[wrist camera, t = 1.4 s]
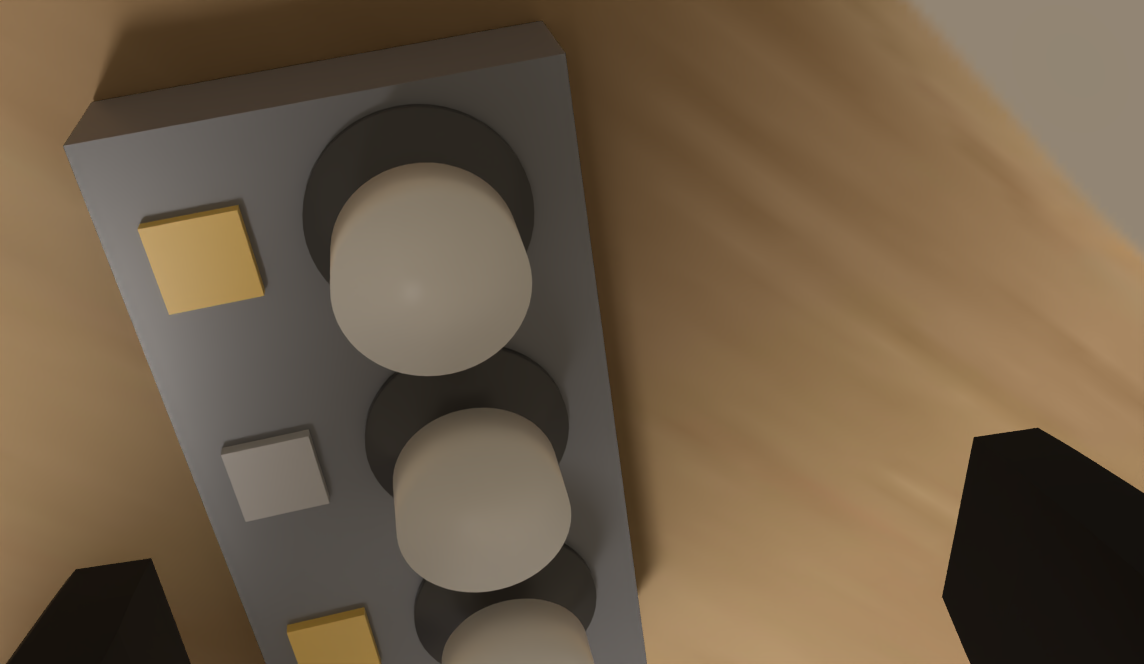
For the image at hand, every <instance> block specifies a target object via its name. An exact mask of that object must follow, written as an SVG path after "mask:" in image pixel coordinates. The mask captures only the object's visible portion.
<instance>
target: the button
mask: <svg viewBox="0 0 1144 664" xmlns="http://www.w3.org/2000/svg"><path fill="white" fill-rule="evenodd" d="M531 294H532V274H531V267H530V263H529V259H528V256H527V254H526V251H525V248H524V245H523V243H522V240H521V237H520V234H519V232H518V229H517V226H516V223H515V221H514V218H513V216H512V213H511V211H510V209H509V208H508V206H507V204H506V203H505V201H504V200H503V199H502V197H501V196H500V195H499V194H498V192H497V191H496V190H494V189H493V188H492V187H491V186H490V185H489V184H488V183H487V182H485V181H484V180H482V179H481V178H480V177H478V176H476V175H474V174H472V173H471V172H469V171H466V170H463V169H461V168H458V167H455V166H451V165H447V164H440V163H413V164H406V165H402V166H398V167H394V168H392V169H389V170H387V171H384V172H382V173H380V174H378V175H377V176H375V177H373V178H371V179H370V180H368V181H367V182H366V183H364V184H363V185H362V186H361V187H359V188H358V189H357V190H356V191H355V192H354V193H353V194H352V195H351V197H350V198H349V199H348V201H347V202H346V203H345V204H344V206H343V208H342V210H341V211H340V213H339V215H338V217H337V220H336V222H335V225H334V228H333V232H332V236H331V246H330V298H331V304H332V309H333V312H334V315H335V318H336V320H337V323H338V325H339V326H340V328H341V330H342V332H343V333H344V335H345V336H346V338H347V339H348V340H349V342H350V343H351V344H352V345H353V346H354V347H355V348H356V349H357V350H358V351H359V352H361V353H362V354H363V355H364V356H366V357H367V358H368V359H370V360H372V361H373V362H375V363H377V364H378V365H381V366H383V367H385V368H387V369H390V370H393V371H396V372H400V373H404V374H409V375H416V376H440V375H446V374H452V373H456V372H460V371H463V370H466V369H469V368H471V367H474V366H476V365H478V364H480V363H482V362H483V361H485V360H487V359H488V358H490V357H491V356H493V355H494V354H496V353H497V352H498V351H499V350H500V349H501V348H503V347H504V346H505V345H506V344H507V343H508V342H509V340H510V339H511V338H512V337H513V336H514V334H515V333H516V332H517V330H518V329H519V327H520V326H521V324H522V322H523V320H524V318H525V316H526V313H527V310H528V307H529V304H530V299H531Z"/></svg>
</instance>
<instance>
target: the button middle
mask: <svg viewBox="0 0 1144 664" xmlns="http://www.w3.org/2000/svg"><path fill="white" fill-rule="evenodd" d="M393 493H394V506H395V520H396V533H397V540H398V545H399V548H400V551H401V553H402V555H403V557H404V559H405V560H406V562H407V563H408V564H409V566H410V567H411V568H412V569H413V570H414V571H415V572H416V573H417V574H418V575H420V576H421V577H423V578H424V579H426V580H427V581H429V582H431V583H433V584H435V585H437V586H440V587H443V588H446V589H450V590H454V591H461V592H488V591H494V590H499V589H503V588H506V587H510V586H512V585H515V584H518V583H520V582H522V581H524V580H526V579H528V578H530V577H531V576H533V575H534V574H536V573H538V572H539V571H540V570H541V569H543V568H544V567H545V566H546V565H547V564H548V563H549V562H550V561H551V560H552V559H553V558H554V557H555V556H556V555H557V553H558V552H559V551H560V549H561V547H562V546H563V544H564V542H565V540H566V538H567V535H568V533H569V528H570V524H571V506H570V502H569V498H568V494H567V491H566V488H565V485H564V481H563V478H562V475H561V471H560V468H559V465H558V461H557V458H556V455H555V452H554V449H553V447H552V444H551V442H550V441H549V439H548V438H547V436H546V435H545V434H544V433H543V432H542V430H541V429H540V428H539V427H537V426H536V425H535V424H534V423H533V422H531V421H529V420H528V419H526V418H524V417H522V416H520V415H518V414H516V413H513V412H509V411H506V410H501V409H496V408H470V409H464V410H459V411H456V412H452V413H449V414H446V415H444V416H441V417H439V418H437V419H435V420H433V421H432V422H430V423H428V424H427V425H425V426H424V427H423V428H421V429H420V430H419V431H418V432H417V433H415V434H414V435H413V436H412V437H411V439H410V440H409V441H408V442H407V443H406V445H405V446H404V448H403V449H402V451H401V452H400V454H399V457H398V459H397V461H396V464H395V468H394V473H393Z"/></svg>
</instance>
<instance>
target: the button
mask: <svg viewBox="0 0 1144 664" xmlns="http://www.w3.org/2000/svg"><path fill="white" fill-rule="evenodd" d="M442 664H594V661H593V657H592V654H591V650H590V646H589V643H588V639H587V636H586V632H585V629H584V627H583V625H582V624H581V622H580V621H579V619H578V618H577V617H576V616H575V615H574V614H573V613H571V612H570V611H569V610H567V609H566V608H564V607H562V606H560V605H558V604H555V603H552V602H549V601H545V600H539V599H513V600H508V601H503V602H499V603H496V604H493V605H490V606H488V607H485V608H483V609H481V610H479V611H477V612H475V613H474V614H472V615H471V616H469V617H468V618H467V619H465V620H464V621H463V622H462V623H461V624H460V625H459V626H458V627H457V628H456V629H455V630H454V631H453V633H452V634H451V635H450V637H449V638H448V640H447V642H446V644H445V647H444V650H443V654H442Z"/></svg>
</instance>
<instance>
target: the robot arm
mask: <svg viewBox="0 0 1144 664" xmlns="http://www.w3.org/2000/svg"><path fill="white" fill-rule="evenodd" d="M942 598H943V600H944V602H945V605H946V607H947V609H948V612H949V614H950V617H951V619H952V621H953V624H954V626H955V629H956V631H957V633H958V636H959V638H960V641H961V643H962V645H963V648H964V650H965V653H966V655H967V657H968V659H969V661H970V664H1144V493H1143V492H1141V491H1140V490H1138V489H1136V488H1135V487H1133V486H1132V485H1130V484H1129V483H1127V482H1125V481H1124V480H1122V479H1121V478H1119V477H1118V476H1116V475H1114V474H1113V473H1111V472H1110V471H1108V470H1107V469H1105V468H1103V467H1102V466H1100V465H1099V464H1097V463H1096V462H1094V461H1092V460H1091V459H1089V458H1088V457H1086V456H1084V455H1083V454H1081V453H1080V452H1078V451H1076V450H1075V449H1073V448H1071V447H1070V446H1068V445H1066V444H1065V443H1063V442H1061V441H1060V440H1058V439H1056V438H1055V437H1053V436H1051V435H1050V434H1048V433H1046V432H1044V431H1043V430H1041V429H1039V428H1033V429H1026V430H1020V431H1013V432H1006V433H999V434H992V435H986V436H979V437H974V439H973V444H972V449H971V454H970V459H969V464H968V469H967V474H966V479H965V484H964V489H963V494H962V499H961V504H960V509H959V514H958V519H957V525H956V530H955V535H954V540H953V545H952V550H951V555H950V560H949V565H948V570H947V575H946V580H945V585H944V590H943V595H942ZM6 664H191V663H190V660H189V658H188V655H187V652H186V650H185V647H184V644H183V642H182V639H181V636H180V634H179V631H178V628H177V626H176V623H175V620H174V618H173V615H172V612H171V610H170V607H169V604H168V602H167V599H166V596H165V594H164V591H163V588H162V586H161V583H160V580H159V578H158V575H157V572H156V570H155V567H154V564H153V561H152V559H151V558H150V559H143V560H136V561H130V562H123V563H116V564H109V565H102V566H96V567H89V568H82V569H76V570H75V571H74V572H73V573H72V575H71V576H70V577H69V578H68V580H67V581H66V582H65V583H64V585H63V586H62V587H61V589H60V590H59V591H58V593H57V594H56V596H55V597H54V598H53V600H52V601H51V602H50V604H49V605H48V606H47V608H46V609H45V610H44V612H43V613H42V615H41V616H40V617H39V619H38V620H37V622H36V623H35V624H34V626H33V627H32V629H31V630H30V631H29V633H28V634H27V636H26V637H25V638H24V640H23V641H22V642H21V644H20V645H19V647H18V648H17V649H16V651H15V652H14V654H13V655H12V656H11V658H10V659H9V661H8V662H7V663H6Z"/></svg>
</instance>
